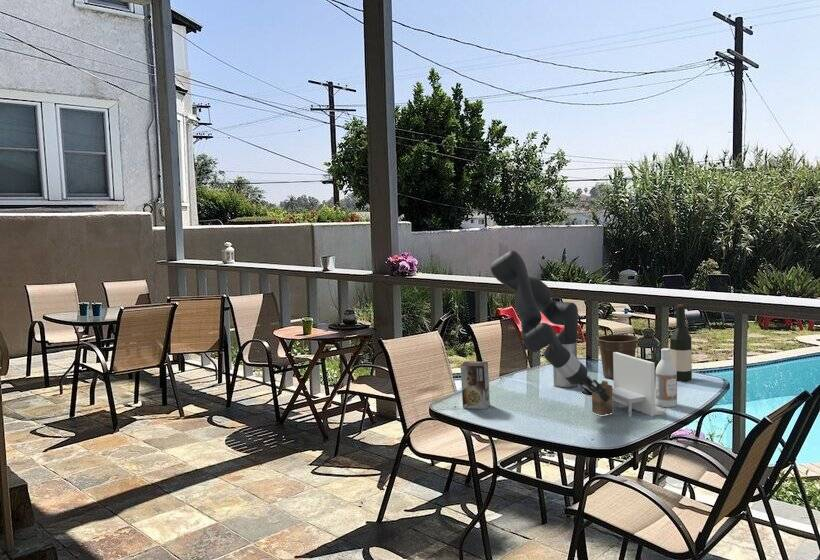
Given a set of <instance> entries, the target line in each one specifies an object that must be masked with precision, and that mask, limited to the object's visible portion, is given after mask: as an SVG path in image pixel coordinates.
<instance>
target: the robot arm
mask: <svg viewBox="0 0 820 560" xmlns="http://www.w3.org/2000/svg"><path fill="white" fill-rule="evenodd" d="M490 271H491V273H492V275H493V277H495V279H496V280H497V281H498V282H500V283H501V284H502V285H504V286H506V287H507V288H509V289H510V290H512V291H514V292H515V300H514V307H515V310H516V313H517V315H518V317H519V320H520V325H521V337H522V339H521V340H522V343H523V345H524V347H525V348H526V349H527V350H528V351H529V352H531V353H536V352H539V351H541V350H542V349H544V348H545V347H546V348H545V350H544V352H543V355H544V358H545V360H546V361H548V362H549V364H551V365H552V368H553V370H552V373H553V375H552V376H553V386H554V387H560V388H572V387H578V388H580V389H582V390H583V391H585V392H586V393H587V394H588V396H592V393H593V392H594V393H596V394H597V395H598V396H599V397H600V398H601V399H602V400H603V401H605V402H607V401H608V399H609V398H610V397H609V396H608V395H607V394H606V393H605V392H606V389H604V388H603V387H602V386H601V385H600V382H599V381H597V380H596V379H593V378H592V377H591V376H590V375H588V373H589V372H588V368H587V367H586V366H585V364H583V363H582V362H581V361H580V360H579V359H578V341H577V340H578V333H579V309H578V306H577V304H576V303H574V302H570V301H569V302H568V301H557V300H554V299H552V298H551V297H552V293H551V289H550V288H549V286H548V285H547V284H546V283H545V282H543V280H541V279H539V278H537V277H534V276H529V274H528V269H527V266H526V263H525V262H524V260H523V258H522V256H521V255H520V254H519V253H518V252H517V251H516V250H510V251H508V252H506V253H505V254H503V255H502V256H500V257H497V259H495V260H494V261H493V262H492V263H491V264H490ZM542 315H543V316H544V317H545V318H546V320H548V322H550V323H551V324H553V325H556V326H563V330H562V331H561V332H558V333H556V332H555V330H554V328H553V326H552V325H550V324H549V323H547V322H541V321H542V319H543V317H542ZM592 388H593V389H592Z"/></svg>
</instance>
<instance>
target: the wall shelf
mask: <svg viewBox="0 0 820 560" xmlns="http://www.w3.org/2000/svg"><path fill="white" fill-rule="evenodd" d="M655 372H656V367H655V362H653V361H650V360H645V359H643V358H640V357H636V356H635V357H632V356H629V355H625V354H622V353H618V352H613V374H614V379H613V387H612V398H613V402H615V401H616V402H615V403H617V402H618V404H620V405H622V404H623V405H622V406H625V405H626V406H625V407H627V406H628V407H627V408H628V409H627V410H628V411H627V412H628V415H630V416H629V417H632V416H633V410H635V409H636V411H638V412H640V411H641V413H643V414H645V413H646V415H648V416H650V415H651V417H654V416H658V415H659V416H660V415H664V414H665V413H666V411H665V410H664V409H661V408H659V407H657V406H656V375H655ZM632 408H634V409H632ZM628 415H627V416H628ZM631 415H632V416H631Z"/></svg>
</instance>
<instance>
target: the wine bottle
mask: <svg viewBox="0 0 820 560" xmlns="http://www.w3.org/2000/svg"><path fill="white" fill-rule="evenodd" d="M685 307H686V306H684V304H676V307H675V311H676V312H675V318H676V320H675V323H676V324H675V325H676V327H675V329H674V330H673V332H672V334H671V335H670V339H669V342H670V344H669V346H670V347H669V349H670V360H671V361H672V362H673V364H674V366H675V368H676V372H677V381H682V382H681V383H687V382H692V380H693V364H692V363H693V360H692V359H693V358H692V357H693V356H692V355H693V351H692V347H693V345H692V340H693V339H692V335H690V333H689V331H688V330H687V328H686V308H685Z"/></svg>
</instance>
